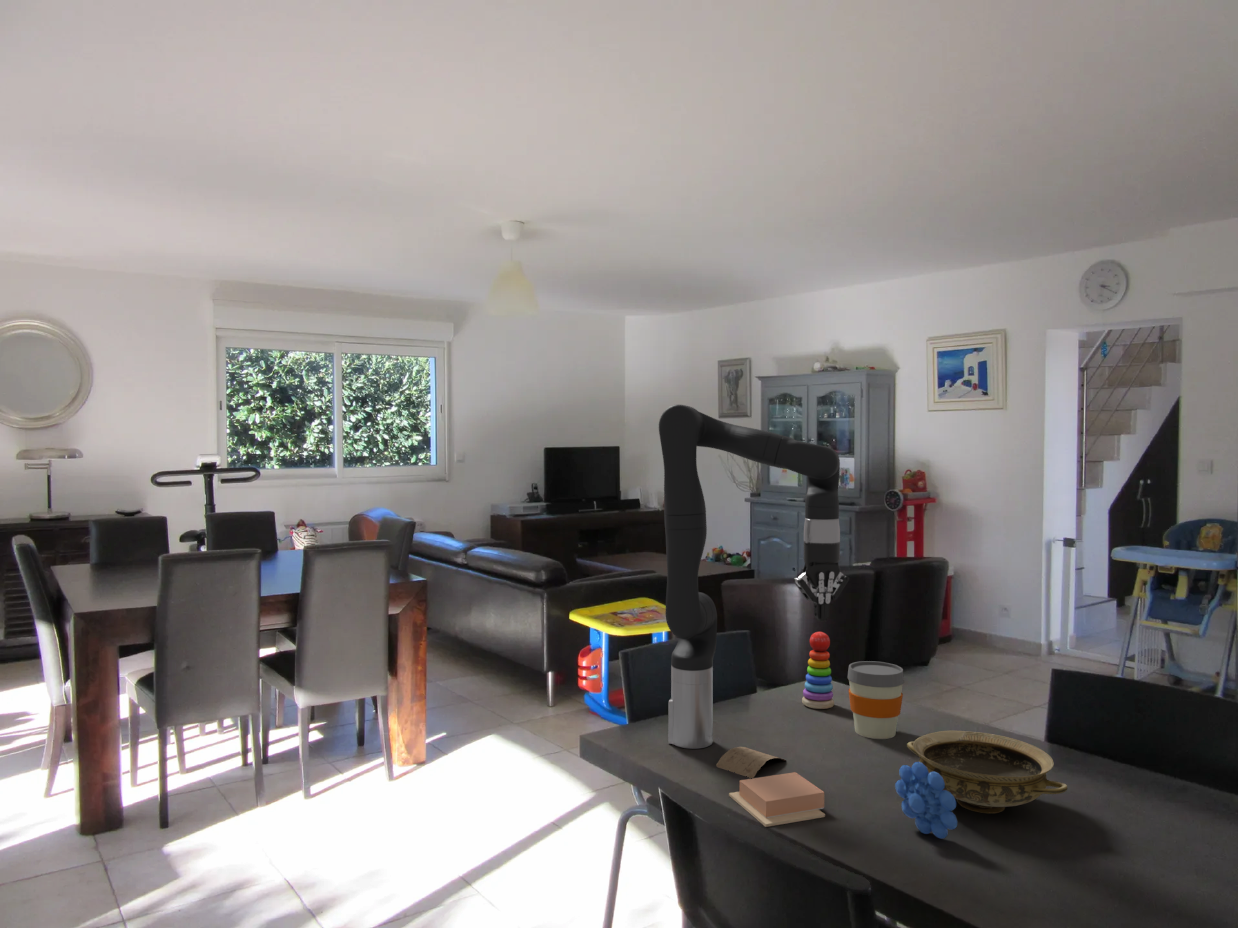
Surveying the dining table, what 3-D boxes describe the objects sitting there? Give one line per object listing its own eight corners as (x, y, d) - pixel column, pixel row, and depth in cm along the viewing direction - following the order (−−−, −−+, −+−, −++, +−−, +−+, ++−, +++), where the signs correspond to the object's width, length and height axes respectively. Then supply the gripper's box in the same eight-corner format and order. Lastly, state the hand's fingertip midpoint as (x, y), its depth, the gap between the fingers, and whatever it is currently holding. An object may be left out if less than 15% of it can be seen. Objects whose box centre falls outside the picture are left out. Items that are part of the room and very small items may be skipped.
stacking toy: (828, 711, 212) (829, 637, 212) (797, 706, 216) (798, 633, 216) (838, 703, 219) (838, 630, 218) (807, 698, 223) (808, 627, 222)
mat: (784, 786, 166) (784, 784, 166) (824, 816, 153) (824, 813, 153) (729, 795, 162) (729, 792, 162) (765, 826, 149) (765, 824, 149)
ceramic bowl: (1094, 814, 154) (1095, 759, 153) (1030, 854, 139) (1031, 793, 139) (941, 764, 177) (941, 717, 177) (872, 794, 162) (873, 742, 162)
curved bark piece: (752, 782, 169) (752, 769, 169) (710, 769, 176) (710, 756, 176) (790, 762, 180) (790, 749, 180) (749, 751, 187) (749, 738, 187)
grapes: (880, 828, 148) (881, 759, 148) (903, 817, 152) (904, 751, 152) (941, 853, 139) (942, 781, 139) (964, 842, 143) (965, 771, 143)
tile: (795, 771, 164) (739, 780, 160) (824, 791, 155) (765, 801, 151) (795, 787, 164) (739, 796, 160) (824, 808, 155) (765, 818, 151)
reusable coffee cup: (858, 719, 206) (858, 658, 206) (910, 730, 199) (911, 666, 198) (838, 734, 196) (839, 669, 195) (893, 745, 188) (894, 678, 188)
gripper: (838, 536, 187) (837, 615, 188) (785, 538, 183) (785, 619, 183) (858, 540, 180) (858, 621, 181) (804, 542, 176) (803, 626, 176)
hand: (821, 620), depth 182 cm, fingers closed
